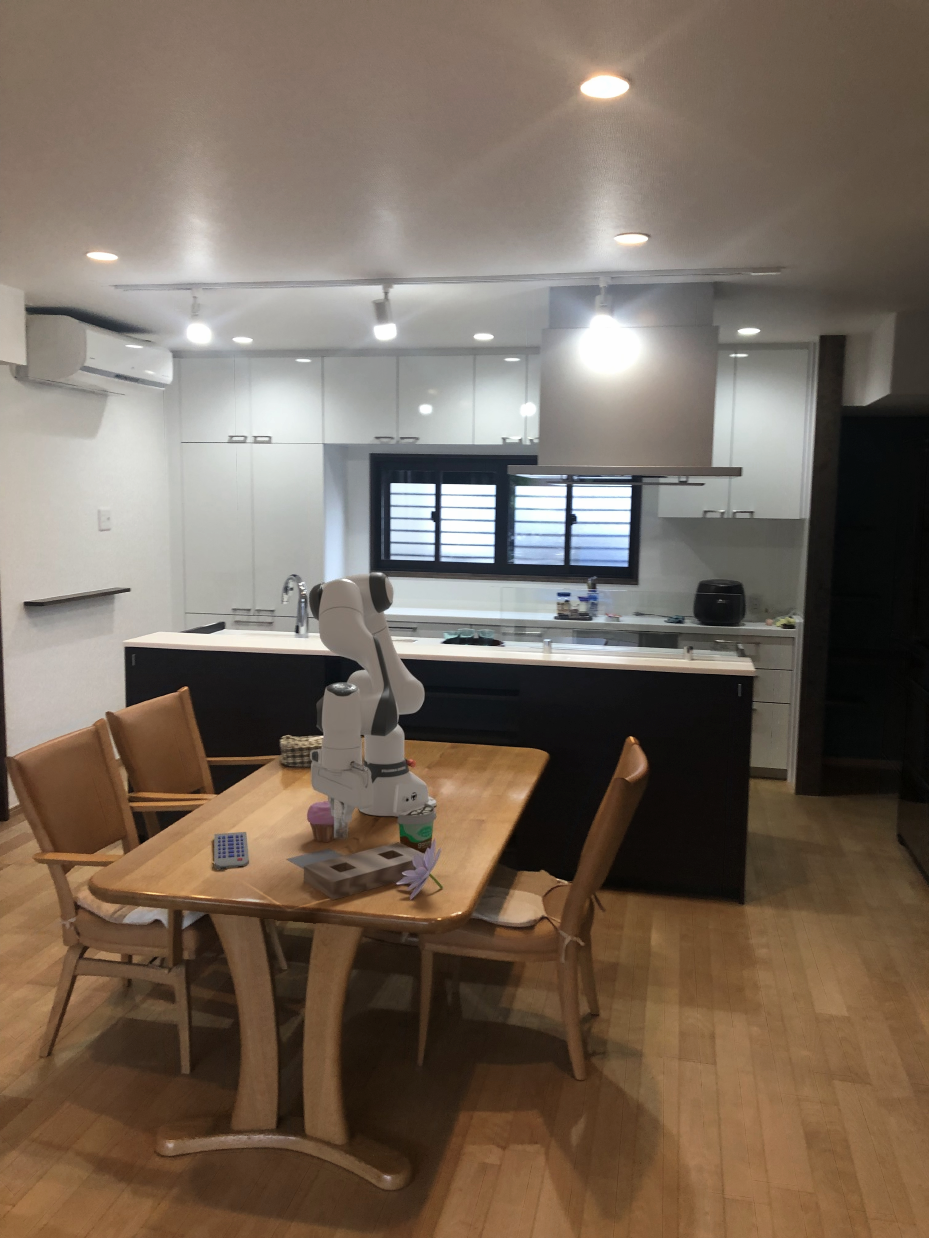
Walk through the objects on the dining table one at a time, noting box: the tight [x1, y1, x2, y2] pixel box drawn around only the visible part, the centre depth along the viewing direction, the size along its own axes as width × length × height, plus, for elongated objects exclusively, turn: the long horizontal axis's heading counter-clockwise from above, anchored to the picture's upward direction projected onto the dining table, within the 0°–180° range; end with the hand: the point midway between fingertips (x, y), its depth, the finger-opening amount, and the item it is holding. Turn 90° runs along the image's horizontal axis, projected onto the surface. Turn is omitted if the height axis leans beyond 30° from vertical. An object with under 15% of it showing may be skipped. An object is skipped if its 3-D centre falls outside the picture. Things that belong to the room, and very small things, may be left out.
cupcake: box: [306, 800, 335, 843], centre depth 242 cm, size 9×9×10 cm
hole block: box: [303, 841, 425, 901], centre depth 217 cm, size 26×12×4 cm, turn 130°
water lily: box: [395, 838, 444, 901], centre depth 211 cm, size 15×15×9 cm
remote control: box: [213, 831, 250, 871], centre depth 232 cm, size 8×23×2 cm, turn 14°
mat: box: [286, 848, 344, 870], centre depth 227 cm, size 12×12×1 cm
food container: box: [396, 803, 438, 854], centre depth 236 cm, size 12×6×10 cm, turn 148°
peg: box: [334, 799, 349, 840], centre depth 211 cm, size 3×3×10 cm
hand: (341, 818), depth 211 cm, fingers closed on peg, 3 cm apart
